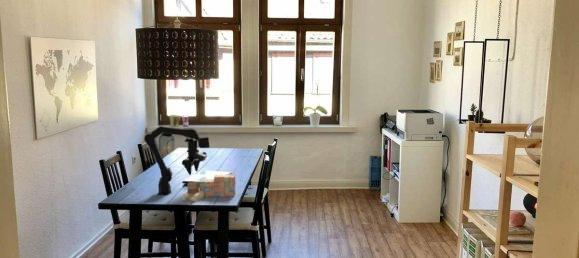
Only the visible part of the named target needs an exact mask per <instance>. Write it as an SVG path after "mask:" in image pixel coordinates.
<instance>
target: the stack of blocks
mask: <svg viewBox="0 0 579 258" xmlns="http://www.w3.org/2000/svg"><path fill="white" fill-rule="evenodd" d="M198 182H199V191H204V197H231V196H234V197H235V196H236V174H214V177H213V178H211V179H210V178H208V179H205V178H204V179H202V178H201V179H200V180H199V181H198Z"/></svg>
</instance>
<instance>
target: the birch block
mask: <svg viewBox="0 0 579 258" xmlns="http://www.w3.org/2000/svg"><path fill="white" fill-rule="evenodd" d="M203 198H205V196H204V191H199V192H198V193H196V194H190V193H188V191H186V192H185V193H182V199H183V201H188V200H189V201H190V202H199V201H200V200H202V199H203Z"/></svg>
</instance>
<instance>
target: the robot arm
mask: <svg viewBox="0 0 579 258" xmlns="http://www.w3.org/2000/svg"><path fill="white" fill-rule="evenodd" d="M161 134H168V135H169V134H170V135H177V136H183V137H185V139H184V142H185V143H187V150H186V153H187V157H186V158H185V159H183V160H182V161H181V165H182V166H183V168H185V171H186V172H187V174H188V175H189V176H191V175H192V169H193V167H194V170H195V172H198V171H199V168H200V167H199V166H200V163H201V162H204V161H206V158H207V157H208V154H207V152H206V151H203V152H200V150H199V149H209V148H210V140H209V139H210V138H209V136H204V137H201V136H200V135H199V134H198V132H197V129H196V128H194V127H186V128H180V127H172V126H171V127H170V126H165V125H160V126H158V127H157V128H155V129H153V130H152V131H150V132H147V133H146V134H145V135H144V138H143V139H144V142H145V143H146V145H147V146H148V147H149V148H150V149H151V152H152V154H153V156H154V158H155V159H154V160H155V161H156V164H157V165H158V167H159V170H160V178H159V180H158V185H157V186H158V192H157V195H161V196H162V195H163V196H164V195H165V196H167V195H169V194H171V193H172V187H171V183H170V182H171V181H172V178H173V172H172V169H171V166H170V167H168V166H167V165H166V163H165V161H164V158H163V157H162V154H161V152H160V149H159V148H158V144H157V140H156V138H157V137H159V136H160V135H161ZM198 147H199V149H198Z"/></svg>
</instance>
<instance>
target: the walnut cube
mask: <svg viewBox="0 0 579 258" xmlns="http://www.w3.org/2000/svg"><path fill="white" fill-rule="evenodd" d="M199 182H200V181H189V182H187V192H188V193H190V194H196V193H198V192H199Z"/></svg>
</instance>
